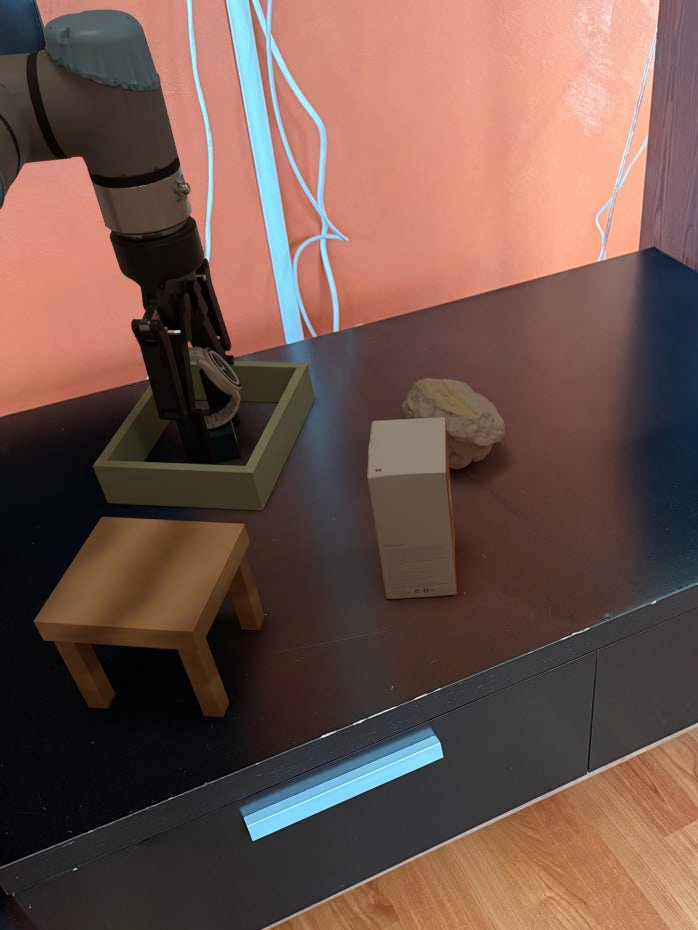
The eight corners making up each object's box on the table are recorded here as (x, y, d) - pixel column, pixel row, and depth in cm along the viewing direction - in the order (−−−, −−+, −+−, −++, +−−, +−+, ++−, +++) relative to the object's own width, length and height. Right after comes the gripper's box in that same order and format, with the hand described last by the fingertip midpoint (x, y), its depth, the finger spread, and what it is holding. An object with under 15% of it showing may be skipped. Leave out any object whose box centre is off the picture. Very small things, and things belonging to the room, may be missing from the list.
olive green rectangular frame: (107, 503, 94) (92, 465, 91) (179, 394, 108) (167, 358, 105) (262, 510, 92) (252, 472, 89) (315, 399, 106) (308, 362, 103)
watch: (259, 453, 99) (234, 357, 91) (182, 471, 97) (149, 375, 89) (251, 425, 103) (226, 331, 95) (176, 442, 101) (145, 347, 93)
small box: (458, 596, 82) (447, 472, 73) (385, 600, 82) (364, 477, 73) (456, 536, 88) (446, 414, 78) (388, 540, 88) (369, 419, 79)
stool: (81, 711, 75) (32, 621, 68) (139, 606, 83) (101, 516, 76) (226, 722, 74) (192, 631, 66) (270, 614, 82) (244, 523, 75)
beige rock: (442, 412, 103) (382, 464, 98) (426, 343, 97) (362, 395, 92) (533, 439, 97) (474, 496, 92) (522, 367, 91) (459, 424, 86)
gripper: (149, 274, 76) (219, 504, 92) (228, 179, 89) (277, 395, 106) (61, 272, 77) (146, 500, 93) (152, 179, 90) (213, 393, 107)
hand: (216, 444), depth 99 cm, fingers closed on watch, 7 cm apart
